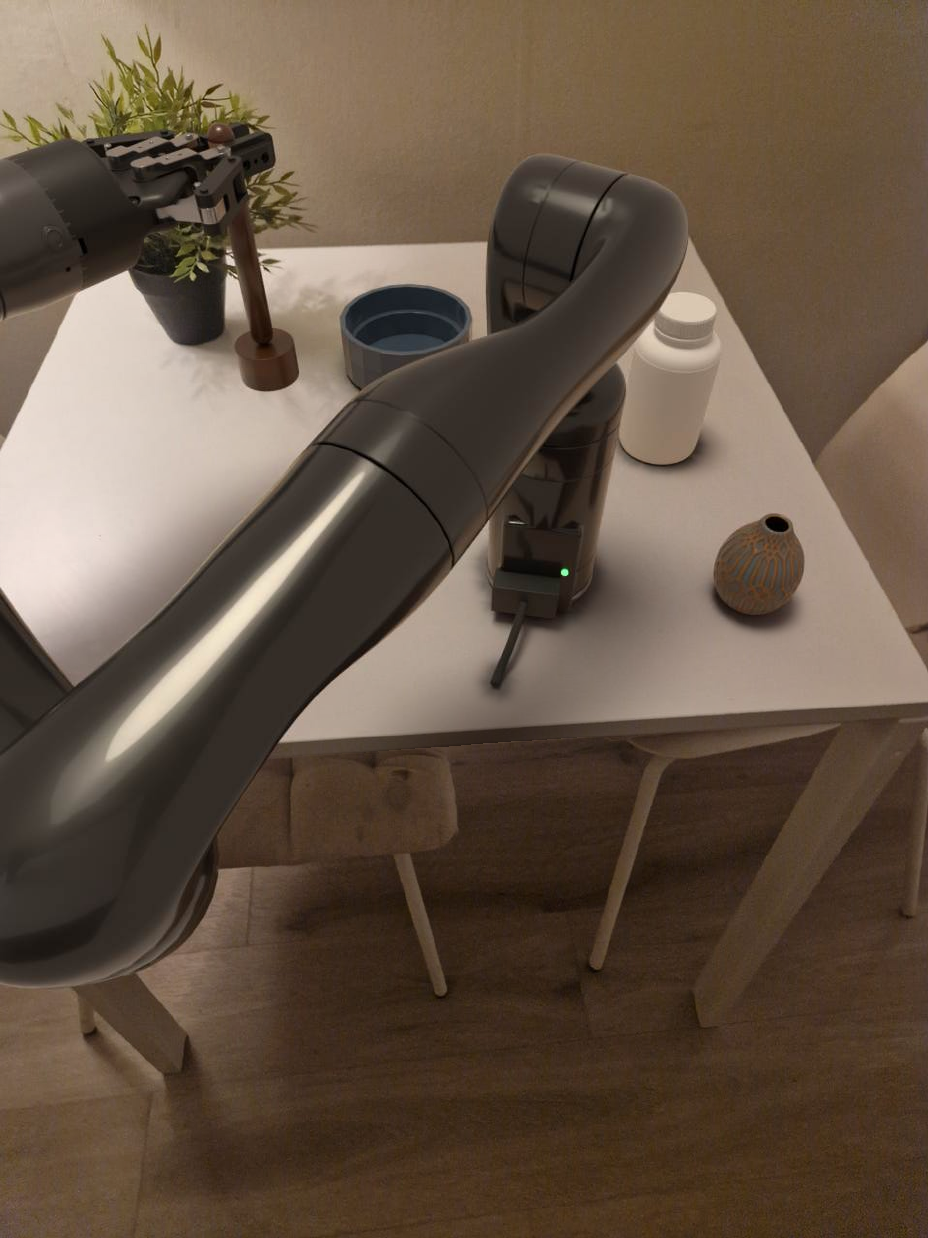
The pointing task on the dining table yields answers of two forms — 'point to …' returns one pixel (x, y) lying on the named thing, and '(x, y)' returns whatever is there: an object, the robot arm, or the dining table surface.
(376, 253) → the dining table surface
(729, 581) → the vase
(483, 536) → the dining table surface
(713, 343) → the pill bottle
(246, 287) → the wooden peg stand
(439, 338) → the bowl
